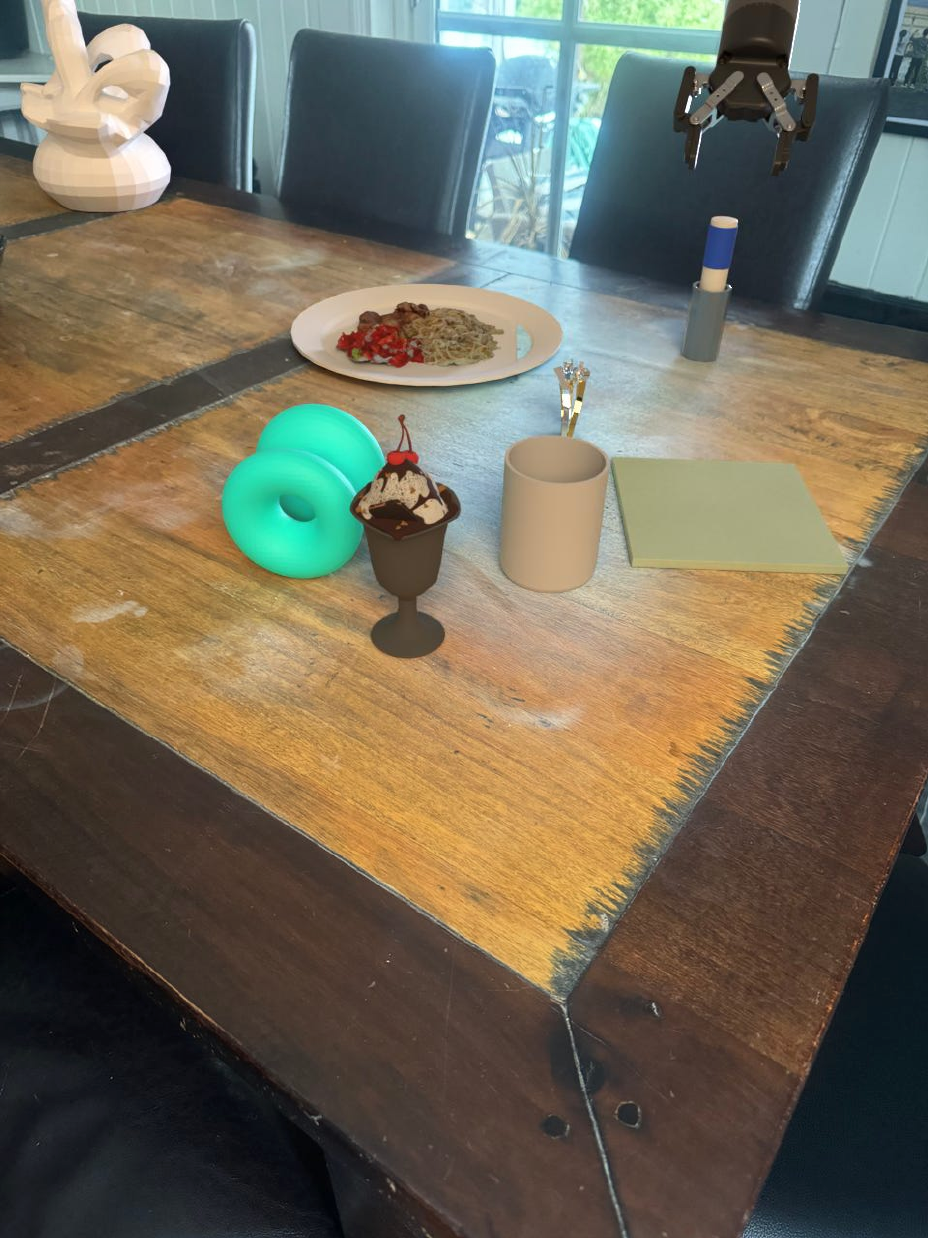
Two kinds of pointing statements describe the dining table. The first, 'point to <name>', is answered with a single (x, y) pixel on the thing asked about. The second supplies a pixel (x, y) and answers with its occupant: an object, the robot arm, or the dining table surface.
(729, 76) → the robot arm
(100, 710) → the dining table surface
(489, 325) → the plated food
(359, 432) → the donuts
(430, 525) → the sundae
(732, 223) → the marker
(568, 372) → the ring
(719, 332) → the grey hollow cylinder
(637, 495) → the mat
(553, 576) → the cup
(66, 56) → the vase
